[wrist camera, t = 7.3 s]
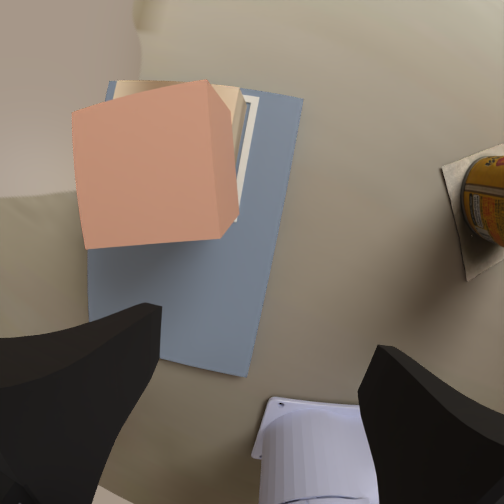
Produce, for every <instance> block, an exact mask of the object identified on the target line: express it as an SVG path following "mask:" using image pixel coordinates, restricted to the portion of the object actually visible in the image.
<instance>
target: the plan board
mask: <svg viewBox="0 0 504 504" xmlns="http://www.w3.org/2000/svg"><path fill="white" fill-rule="evenodd" d="M116 83H117V81H109V85H108V89H107V94H106V99H105V102H106V101H109V100H113V96H114V92H115V88H116ZM240 90H241V92H242V95H243V97H244V100H245V102H246V105H247V108H246V114H245V119H244V124H243V129H242V134H241V140H240V145H239V151H238V156H237V161H236V167H235V169H236V180H237V191H238V203H239V215H238V217H237V218H236V219H235V220H234V222H233V223H232V224H231V226H230V227H229V228H228V230H227V231H226V232H225V233H224V235H223V236H222V237H221V239H210V240H196V241H183V242H170V243H157V244H144V245H132V246H120V247H108V248H96V249H88V309H89V322H92V321H95V320H98V319H101V318H103V317H106V316H109V315H111V314H114V313H116V312H119V311H122V310H124V309H127V308H129V307H132V306H135V305H137V304H140V303H144V302H146V303H150V304H154V305H159V306H162V320H161V339H160V358H162V359H165V360H169V361H173V362H177V363H181V364H185V365H189V366H193V367H198V368H202V369H207V370H211V371H216V372H221V373H226V374H231V375H236V376H241V377H246V378H247V374H248V370H249V365H250V361H251V357H252V352H253V348H254V343H255V339H256V334H257V330H258V325H259V321H260V316H261V311H262V307H263V302H264V297H265V293H266V288H267V283H268V279H269V274H270V269H271V264H272V259H273V255H274V250H275V245H276V240H277V235H278V230H279V225H280V220H281V215H282V210H283V205H284V200H285V195H286V190H287V185H288V180H289V175H290V169H291V164H292V159H293V154H294V148H295V143H296V138H297V132H298V127H299V121H300V116H301V110H302V105H303V99H301V98H297V97H292V96H286V95H281V94H275V93H270V92H263V91H257V90H250V89H243V88H240Z"/></svg>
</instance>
